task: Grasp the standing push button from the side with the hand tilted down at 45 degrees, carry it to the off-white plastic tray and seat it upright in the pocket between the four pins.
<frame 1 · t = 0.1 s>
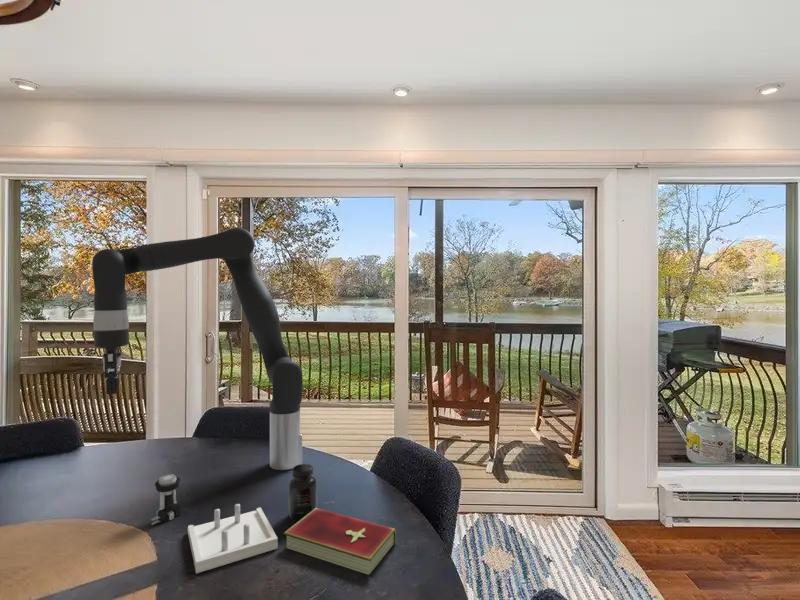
hand: (113, 390, 112), 29 cm above the table, tool pointing down, fingers open, 8 cm apart
tray: (231, 540, 96), on the table
hardcover book: (340, 548, 94), on the table
supplement bottle: (303, 516, 107), on the table
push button: (165, 520, 104), on the table
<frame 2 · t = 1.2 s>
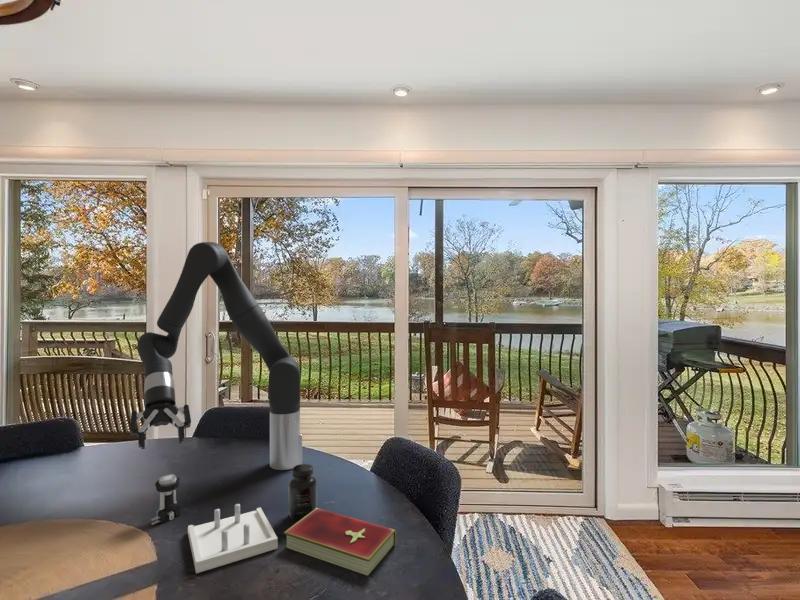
hand: (162, 444, 113), 14 cm above the table, tool tilted 45°, fingers open, 8 cm apart
nothing on the table moved.
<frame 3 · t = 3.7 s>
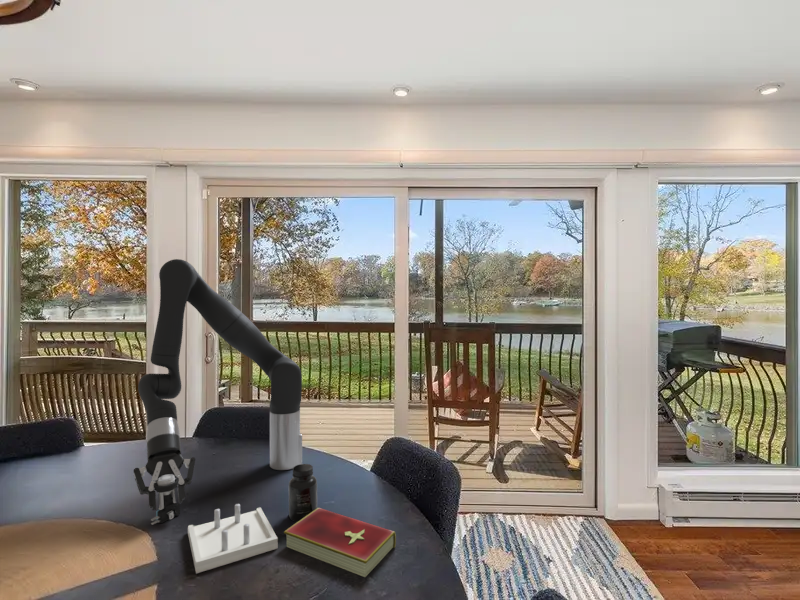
hand: (167, 505, 103), 4 cm above the table, tool tilted 45°, fingers closed on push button, 5 cm apart
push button: (165, 519, 104), on the table, touching gripper
everything else where it was.
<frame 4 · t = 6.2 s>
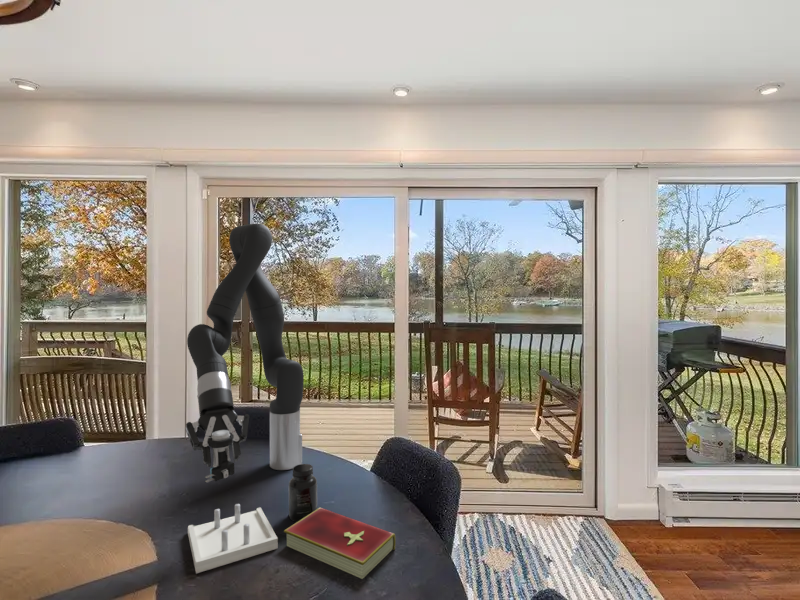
hand: (223, 462, 95), 18 cm above the table, tool tilted 45°, fingers closed on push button, 5 cm apart
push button: (219, 478, 96), point 14 cm above the table, touching gripper
everything else where it was.
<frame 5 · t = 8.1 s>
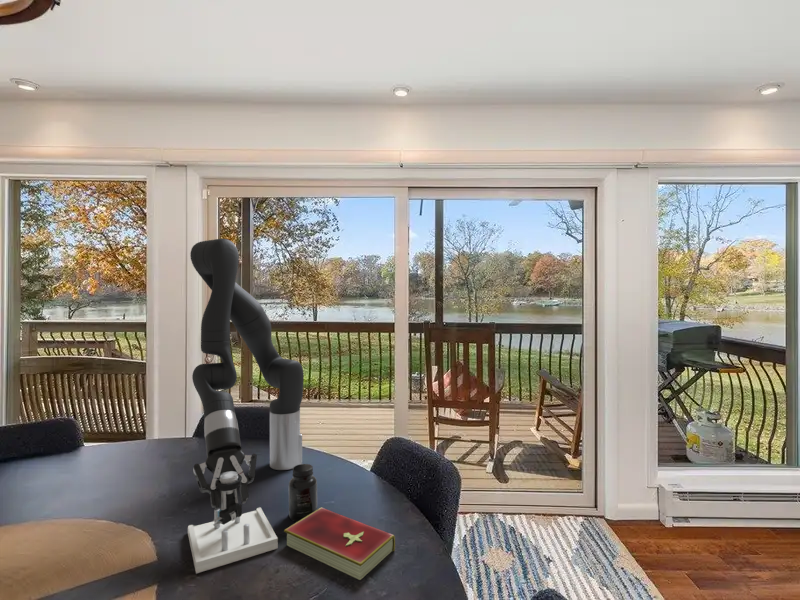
hand: (230, 505, 94), 9 cm above the table, tool tilted 45°, fingers closed on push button, 5 cm apart
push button: (226, 521, 96), point 4 cm above the table, touching gripper
when the fingers open (7 cm above the table, at t = 9.0 s): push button drops 1 cm, resting on tray.
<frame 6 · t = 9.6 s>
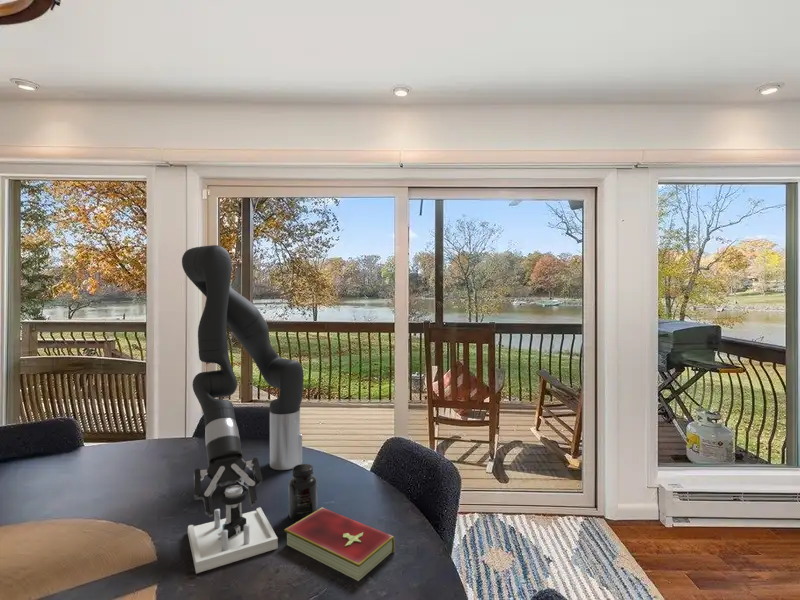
hand: (232, 510, 95), 7 cm above the table, tool tilted 45°, fingers open, 8 cm apart
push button: (231, 535, 96), point 1 cm above the table, touching tray
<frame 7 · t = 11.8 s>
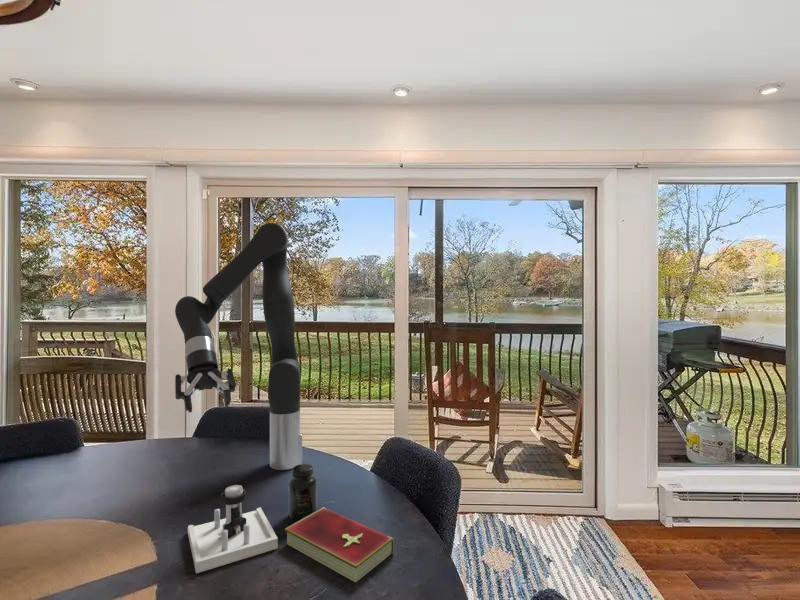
hand: (209, 407, 109), 25 cm above the table, tool tilted 45°, fingers open, 8 cm apart
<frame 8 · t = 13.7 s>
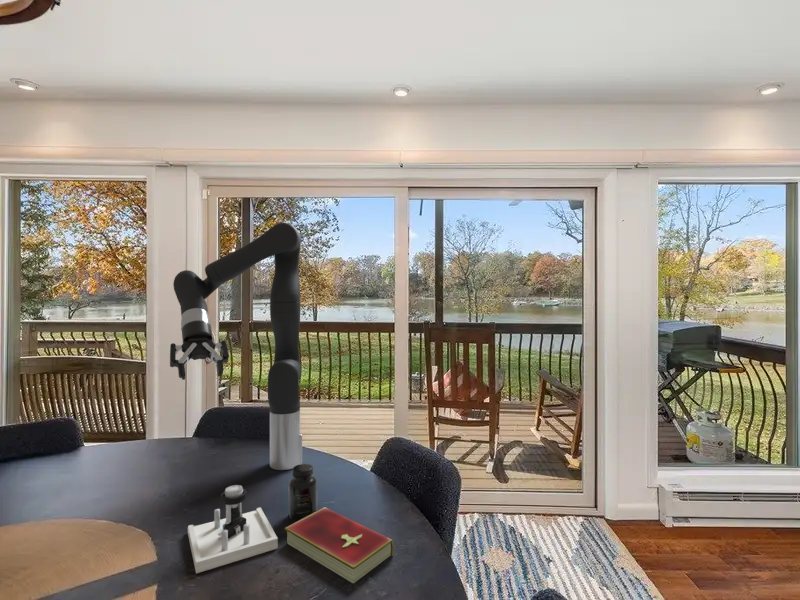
hand: (202, 376, 113), 33 cm above the table, tool tilted 45°, fingers open, 8 cm apart
at the end: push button 0.4 cm off-centre on the tray, point 1.0 cm above the tray's base; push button tilted 0°; the gripper is holding nothing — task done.
